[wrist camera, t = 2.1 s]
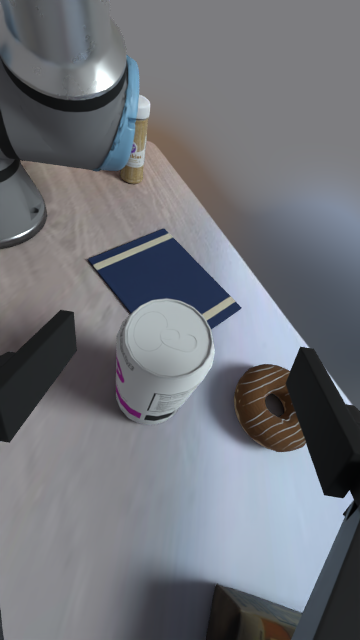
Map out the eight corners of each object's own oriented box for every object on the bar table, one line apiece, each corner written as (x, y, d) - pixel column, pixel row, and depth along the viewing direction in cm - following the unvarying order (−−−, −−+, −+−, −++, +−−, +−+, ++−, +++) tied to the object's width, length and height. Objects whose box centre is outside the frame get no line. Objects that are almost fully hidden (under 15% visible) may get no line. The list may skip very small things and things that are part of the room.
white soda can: (105, 415, 32) (99, 367, 19) (129, 352, 36) (137, 280, 24) (172, 435, 32) (210, 401, 19) (187, 370, 36) (226, 309, 24)
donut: (230, 363, 38) (241, 351, 35) (300, 378, 39) (317, 368, 36) (227, 446, 33) (240, 441, 29) (309, 460, 34) (331, 457, 30)
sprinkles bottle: (120, 183, 54) (121, 102, 42) (120, 169, 56) (121, 89, 45) (143, 186, 55) (151, 108, 44) (142, 172, 57) (149, 95, 46)
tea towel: (88, 260, 42) (87, 258, 42) (163, 229, 49) (164, 228, 49) (167, 359, 37) (168, 358, 36) (240, 309, 44) (241, 307, 43)
